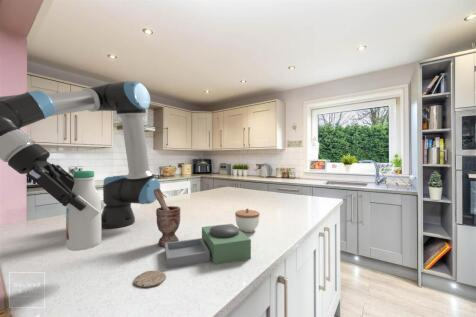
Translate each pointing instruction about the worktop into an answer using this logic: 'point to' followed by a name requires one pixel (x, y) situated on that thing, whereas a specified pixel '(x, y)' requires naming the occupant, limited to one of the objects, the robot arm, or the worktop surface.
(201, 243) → the grey square tray
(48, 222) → the worktop surface
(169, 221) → the mortar and pestle
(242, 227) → the lidded jar
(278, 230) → the worktop surface
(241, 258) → the green box with dome
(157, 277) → the flatbread
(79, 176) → the milk bottle
